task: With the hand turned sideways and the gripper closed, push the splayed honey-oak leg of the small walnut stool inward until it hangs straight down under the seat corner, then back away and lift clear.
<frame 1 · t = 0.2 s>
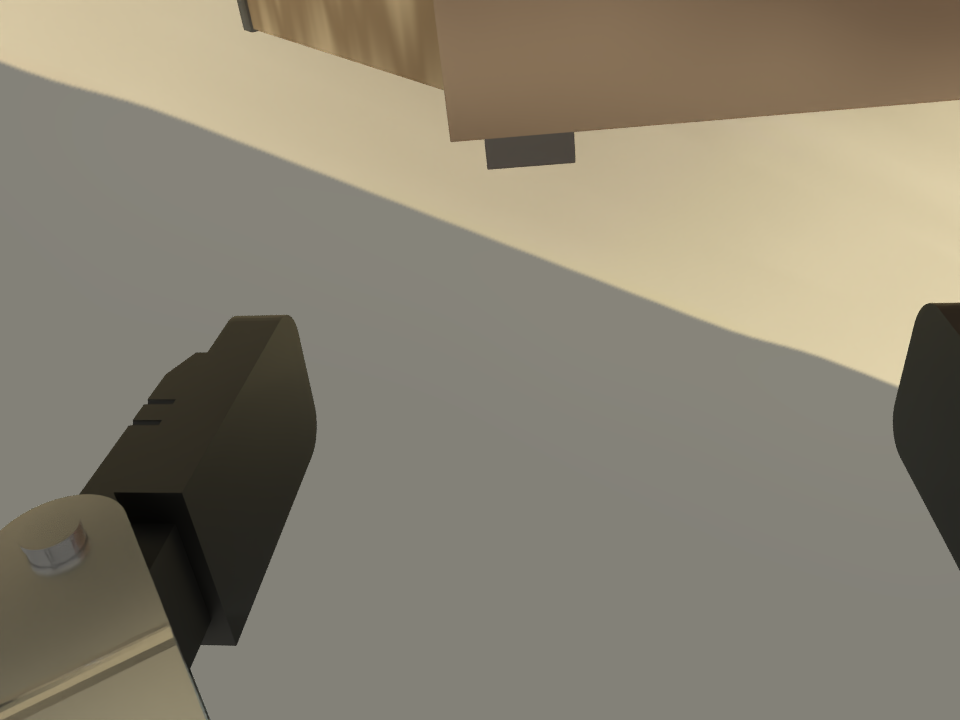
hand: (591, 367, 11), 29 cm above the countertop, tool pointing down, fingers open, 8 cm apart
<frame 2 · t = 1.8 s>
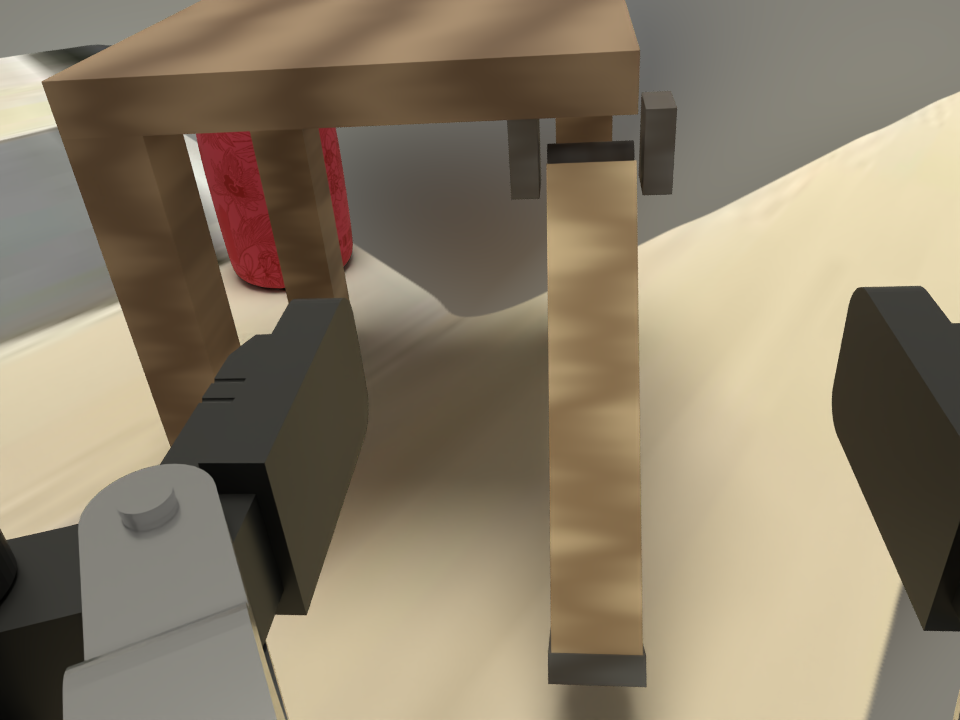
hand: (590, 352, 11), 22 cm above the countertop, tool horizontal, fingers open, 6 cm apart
walnut stool: (436, 418, 47), on the countertop
oak leg: (592, 403, 29), point 11 cm above the countertop, hinge at 35.0°
red bottle: (296, 267, 66), on the countertop
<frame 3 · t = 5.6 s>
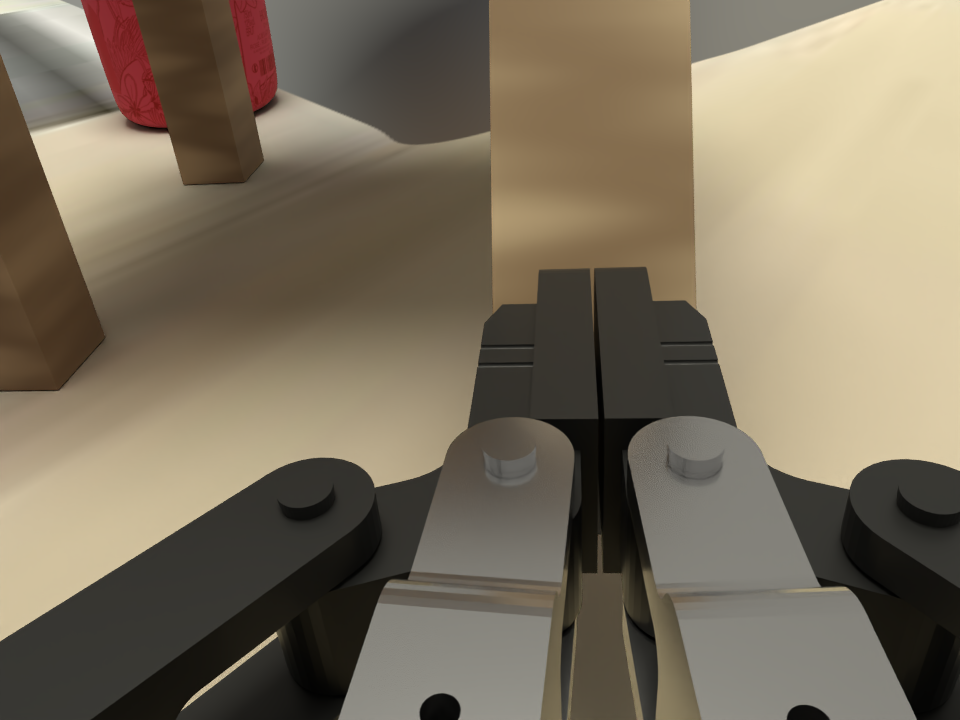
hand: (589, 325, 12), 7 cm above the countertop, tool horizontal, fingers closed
walnut stool: (359, 240, 32), on the countertop
red bottle: (204, 112, 50), on the countertop
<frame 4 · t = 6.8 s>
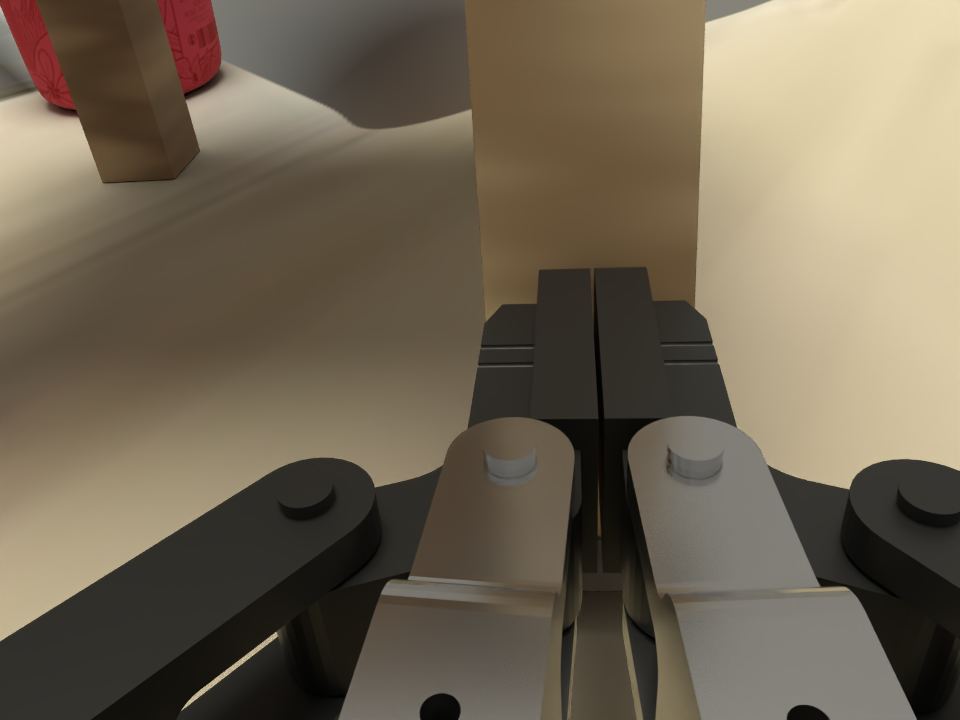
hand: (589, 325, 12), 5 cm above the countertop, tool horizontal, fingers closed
walnut stool: (304, 255, 26), on the countertop
red bottle: (138, 91, 44), on the countertop
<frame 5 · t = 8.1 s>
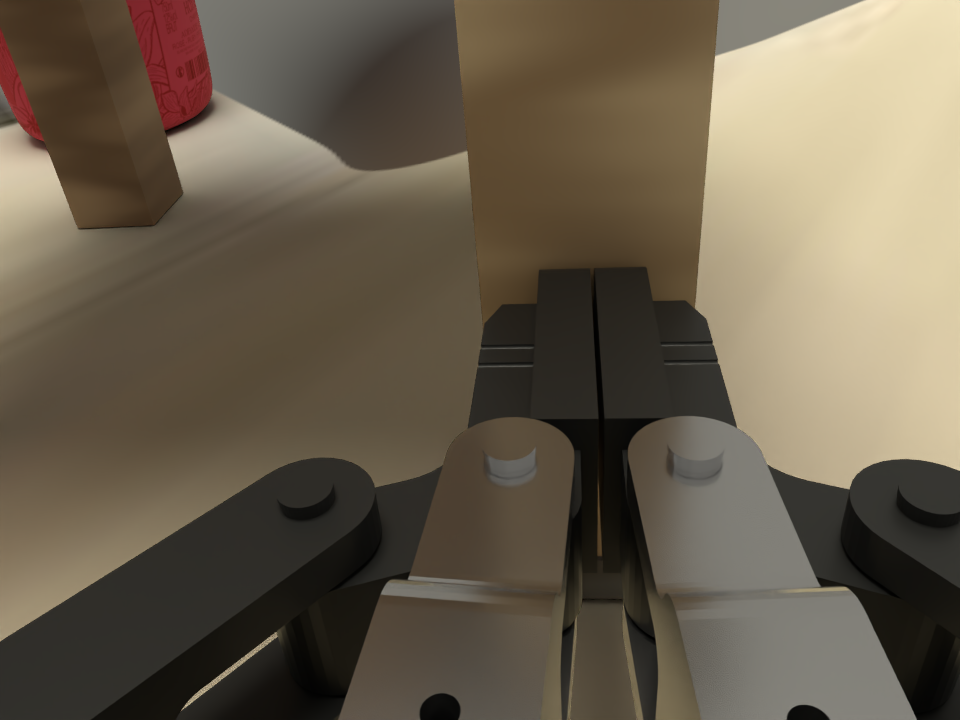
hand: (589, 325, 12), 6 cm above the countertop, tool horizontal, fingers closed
walnut stool: (285, 319, 24), on the countertop
oak leg: (582, 49, 11), point 9 cm above the countertop, hinge at 0.4°, touching gripper
red bottle: (125, 123, 42), on the countertop
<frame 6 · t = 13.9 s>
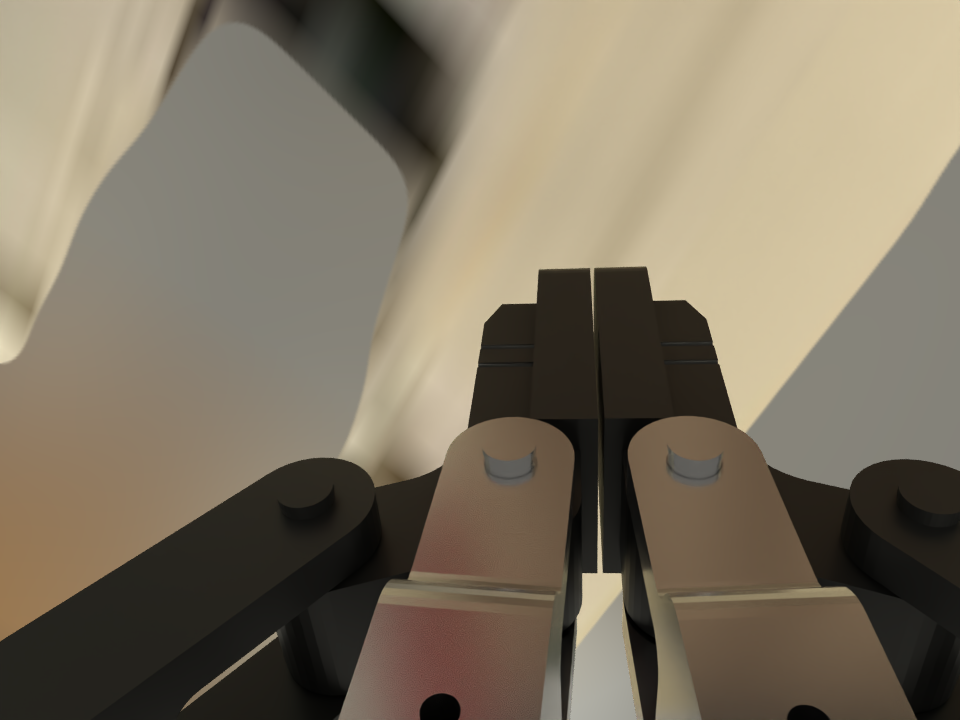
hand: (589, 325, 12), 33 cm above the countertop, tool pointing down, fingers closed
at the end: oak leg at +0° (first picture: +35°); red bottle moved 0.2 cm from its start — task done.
